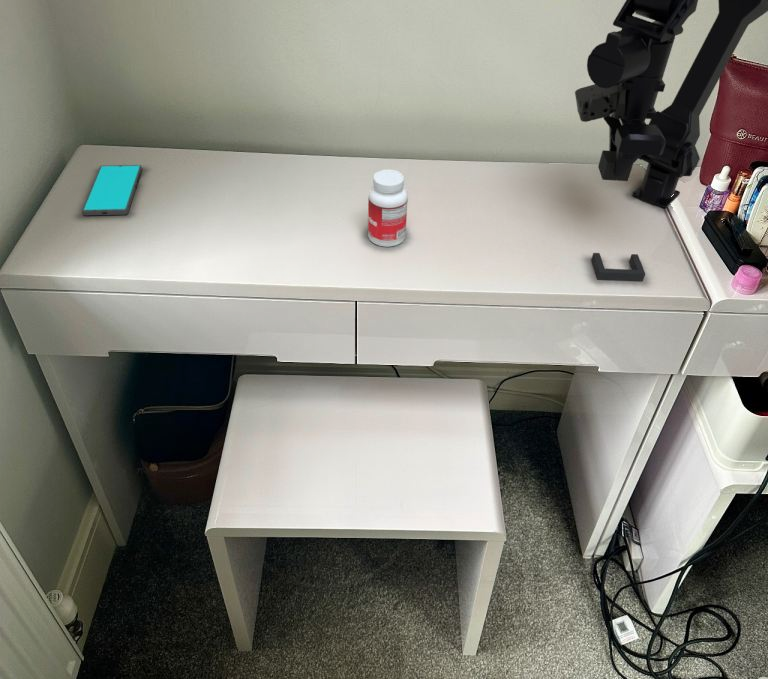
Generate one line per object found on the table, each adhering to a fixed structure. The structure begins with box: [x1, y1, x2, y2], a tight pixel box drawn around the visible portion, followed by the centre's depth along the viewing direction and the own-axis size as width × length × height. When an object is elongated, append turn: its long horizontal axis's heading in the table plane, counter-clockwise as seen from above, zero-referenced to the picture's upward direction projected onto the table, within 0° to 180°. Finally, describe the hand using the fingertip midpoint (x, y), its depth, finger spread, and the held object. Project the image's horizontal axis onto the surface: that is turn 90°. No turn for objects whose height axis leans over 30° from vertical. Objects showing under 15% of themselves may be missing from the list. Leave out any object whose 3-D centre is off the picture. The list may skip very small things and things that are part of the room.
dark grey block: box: [597, 149, 634, 182], centre depth 110 cm, size 4×4×3 cm
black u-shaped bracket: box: [590, 252, 646, 282], centre depth 109 cm, size 5×7×2 cm
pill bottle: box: [367, 168, 409, 248], centre depth 111 cm, size 6×6×11 cm
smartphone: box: [81, 164, 143, 216], centre depth 122 cm, size 7×1×15 cm
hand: (615, 168), depth 111 cm, fingers closed on dark grey block, 4 cm apart
